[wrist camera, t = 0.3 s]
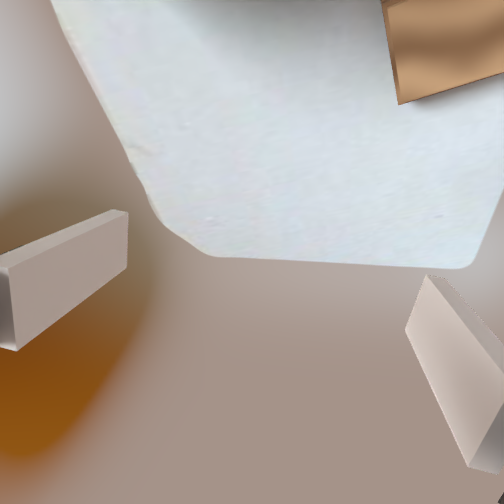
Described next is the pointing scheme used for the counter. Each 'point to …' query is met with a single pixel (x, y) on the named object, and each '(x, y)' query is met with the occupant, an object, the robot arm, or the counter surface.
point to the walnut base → (442, 44)
